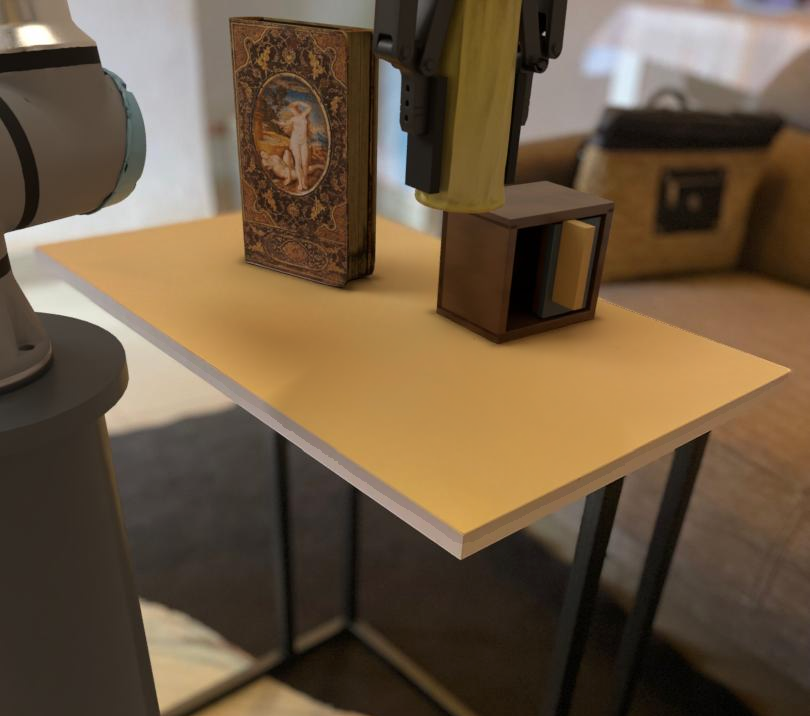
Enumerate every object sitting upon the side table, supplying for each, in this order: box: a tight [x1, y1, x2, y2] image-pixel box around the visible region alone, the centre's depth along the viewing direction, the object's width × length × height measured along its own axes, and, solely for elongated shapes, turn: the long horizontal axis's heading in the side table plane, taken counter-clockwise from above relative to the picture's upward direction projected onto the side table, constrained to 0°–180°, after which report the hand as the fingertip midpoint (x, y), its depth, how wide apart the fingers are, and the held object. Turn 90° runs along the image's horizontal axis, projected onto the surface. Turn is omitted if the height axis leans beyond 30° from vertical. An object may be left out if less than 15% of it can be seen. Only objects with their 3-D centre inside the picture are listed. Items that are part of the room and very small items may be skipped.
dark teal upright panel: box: [537, 215, 601, 318], centre depth 84 cm, size 4×6×10 cm, turn 126°
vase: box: [414, 0, 522, 213], centre depth 52 cm, size 6×6×14 cm
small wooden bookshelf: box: [435, 180, 616, 344], centre depth 87 cm, size 10×14×12 cm
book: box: [228, 16, 380, 288], centre depth 92 cm, size 16×6×25 cm, turn 57°
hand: (460, 183), depth 55 cm, fingers closed on vase, 6 cm apart
